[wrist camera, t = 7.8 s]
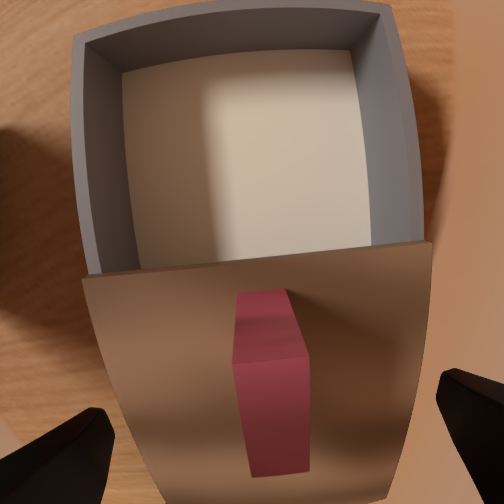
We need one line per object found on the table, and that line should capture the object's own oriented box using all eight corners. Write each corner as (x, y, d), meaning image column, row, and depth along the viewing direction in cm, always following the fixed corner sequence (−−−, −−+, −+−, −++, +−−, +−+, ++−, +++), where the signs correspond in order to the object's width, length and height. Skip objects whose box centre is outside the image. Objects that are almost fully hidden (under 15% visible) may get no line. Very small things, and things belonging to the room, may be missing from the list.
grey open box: (375, 327, 17) (412, 372, 12) (152, 351, 17) (126, 402, 12) (354, 45, 14) (389, 4, 9) (115, 69, 14) (73, 35, 9)
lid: (383, 491, 14) (406, 550, 9) (177, 513, 14) (167, 575, 9) (424, 239, 11) (514, 274, 6) (88, 274, 11) (7, 327, 6)
